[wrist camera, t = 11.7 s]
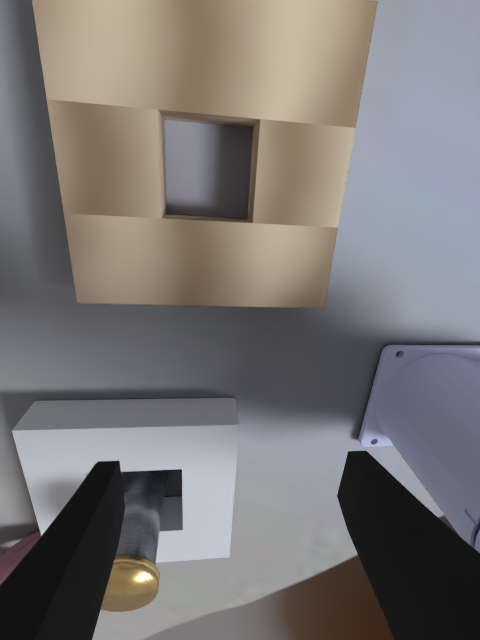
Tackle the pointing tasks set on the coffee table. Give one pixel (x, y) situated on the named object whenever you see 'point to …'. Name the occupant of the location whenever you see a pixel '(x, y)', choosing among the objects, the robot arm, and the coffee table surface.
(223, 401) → the dock
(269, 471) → the coffee table surface
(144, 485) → the lock pin
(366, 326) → the coffee table surface
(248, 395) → the coffee table surface
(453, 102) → the coffee table surface
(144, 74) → the pin mount
